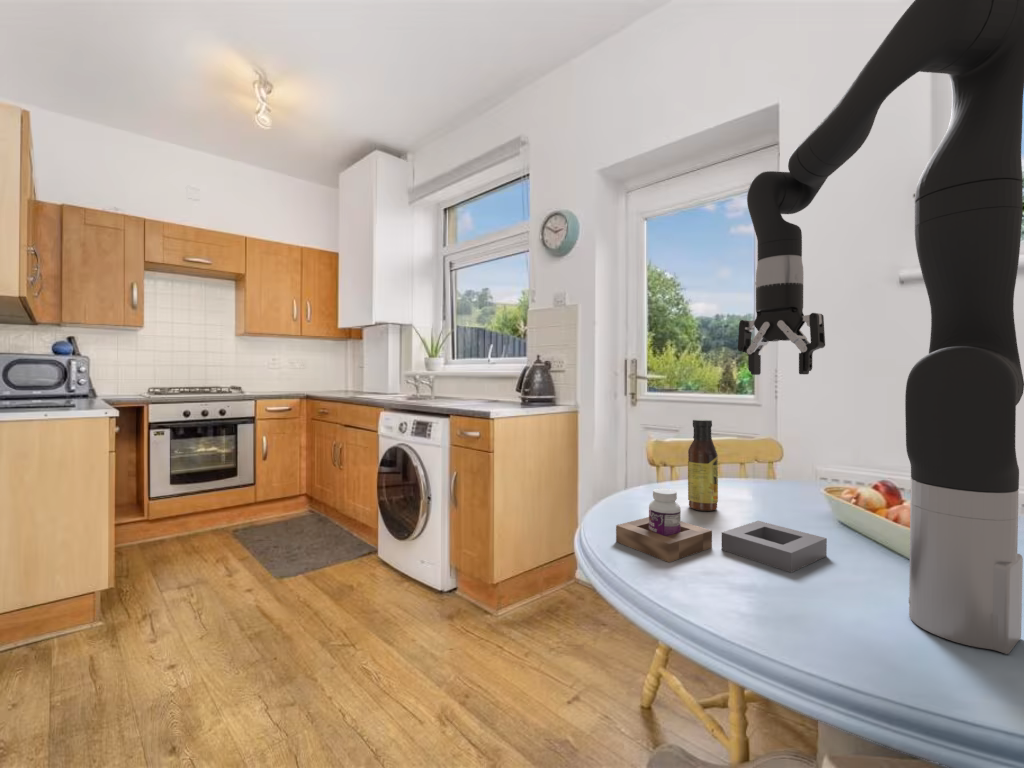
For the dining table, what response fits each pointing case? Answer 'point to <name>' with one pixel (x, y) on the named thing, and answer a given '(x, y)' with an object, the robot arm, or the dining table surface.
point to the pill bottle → (664, 512)
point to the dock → (664, 540)
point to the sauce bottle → (702, 468)
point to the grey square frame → (774, 545)
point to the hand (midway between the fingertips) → (778, 374)
